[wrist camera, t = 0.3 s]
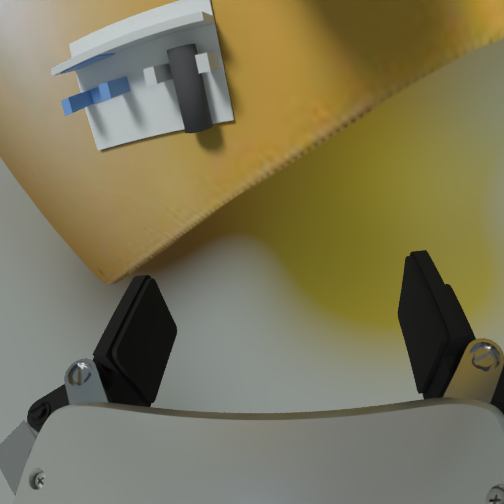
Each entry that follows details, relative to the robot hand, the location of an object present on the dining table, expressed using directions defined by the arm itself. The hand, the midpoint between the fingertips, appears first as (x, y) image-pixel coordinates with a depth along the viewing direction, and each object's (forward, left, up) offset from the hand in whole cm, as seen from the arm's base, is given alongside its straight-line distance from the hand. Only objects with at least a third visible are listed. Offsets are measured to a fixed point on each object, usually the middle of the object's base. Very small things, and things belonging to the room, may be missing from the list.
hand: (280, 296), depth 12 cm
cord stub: (-6, -10, -29) cm, 31 cm away
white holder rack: (-9, -15, -29) cm, 34 cm away
